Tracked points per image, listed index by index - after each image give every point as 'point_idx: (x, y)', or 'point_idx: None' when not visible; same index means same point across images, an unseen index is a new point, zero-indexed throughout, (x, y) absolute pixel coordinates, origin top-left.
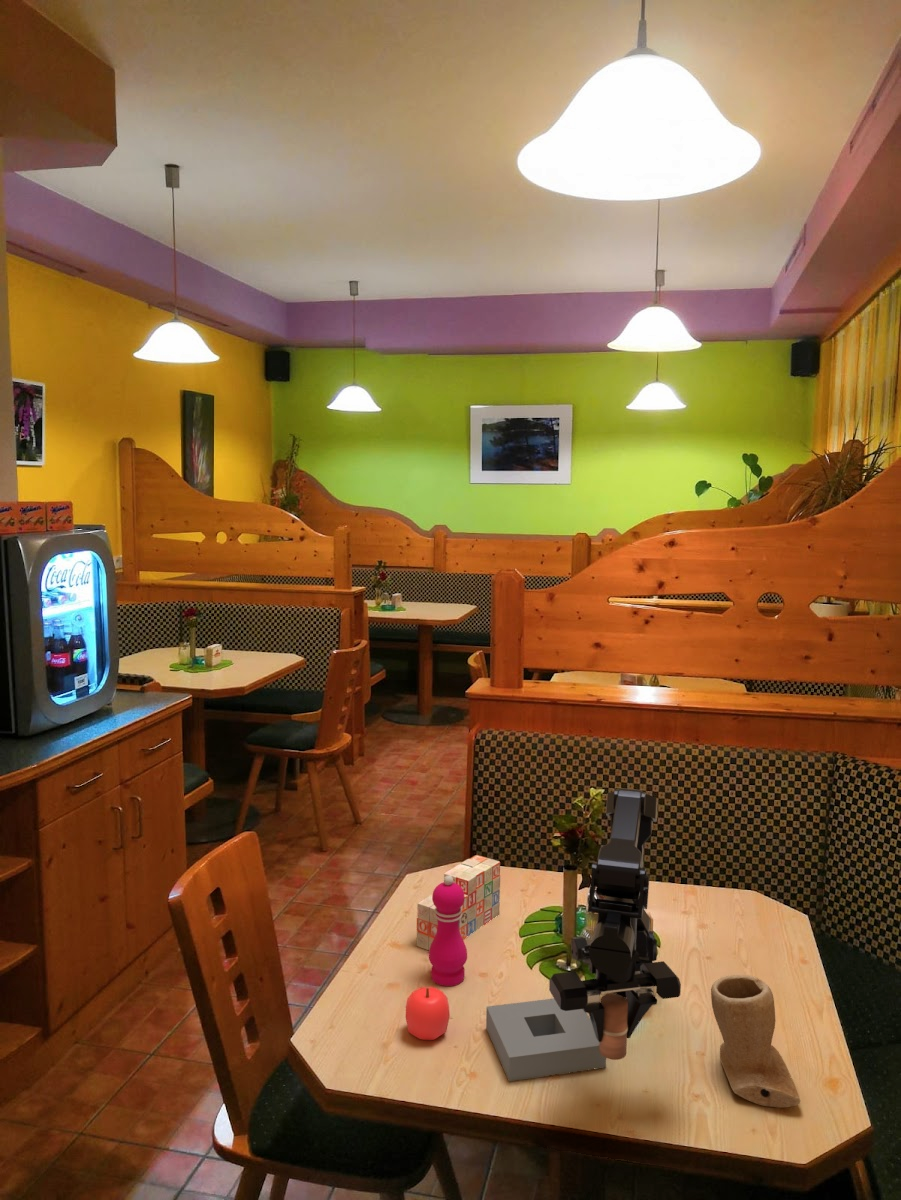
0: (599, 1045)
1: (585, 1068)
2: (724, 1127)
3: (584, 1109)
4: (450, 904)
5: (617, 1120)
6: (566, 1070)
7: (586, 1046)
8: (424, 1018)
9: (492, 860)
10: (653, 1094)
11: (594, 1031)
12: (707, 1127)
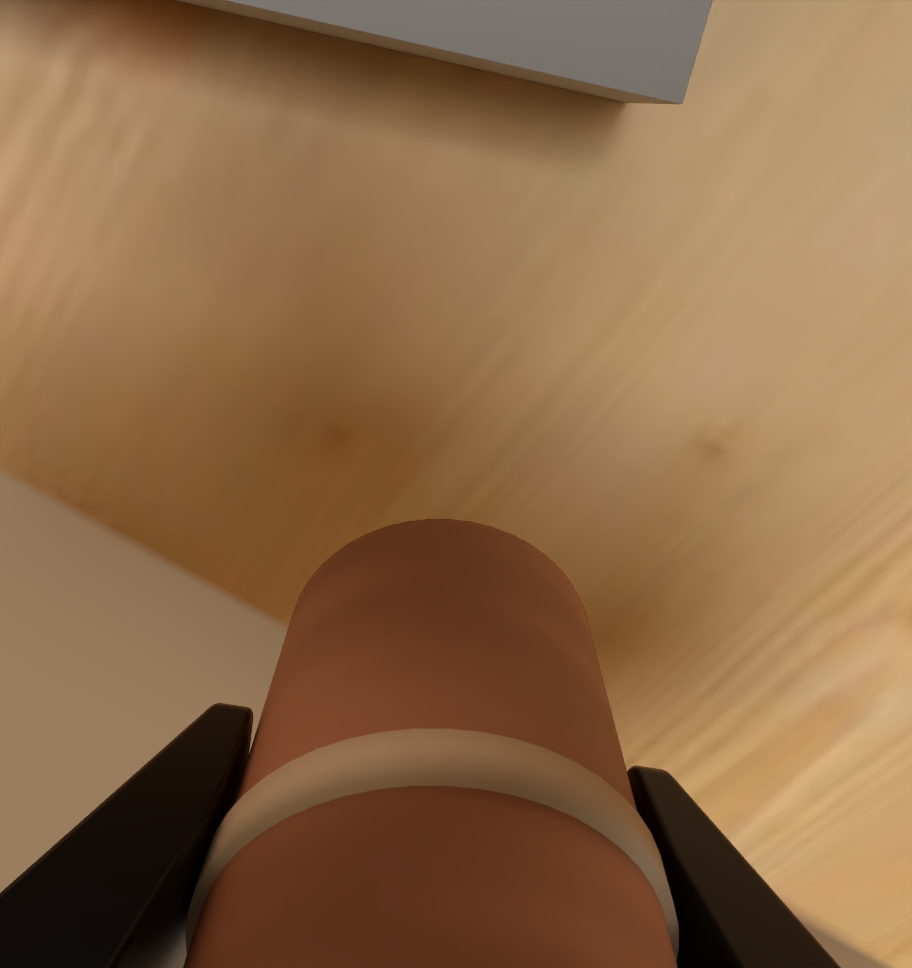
0: (287, 637)
1: (445, 60)
2: (862, 806)
3: (228, 441)
4: None
5: None
6: (265, 19)
7: (453, 39)
8: None
9: None
10: (733, 492)
11: (157, 757)
12: (789, 780)
